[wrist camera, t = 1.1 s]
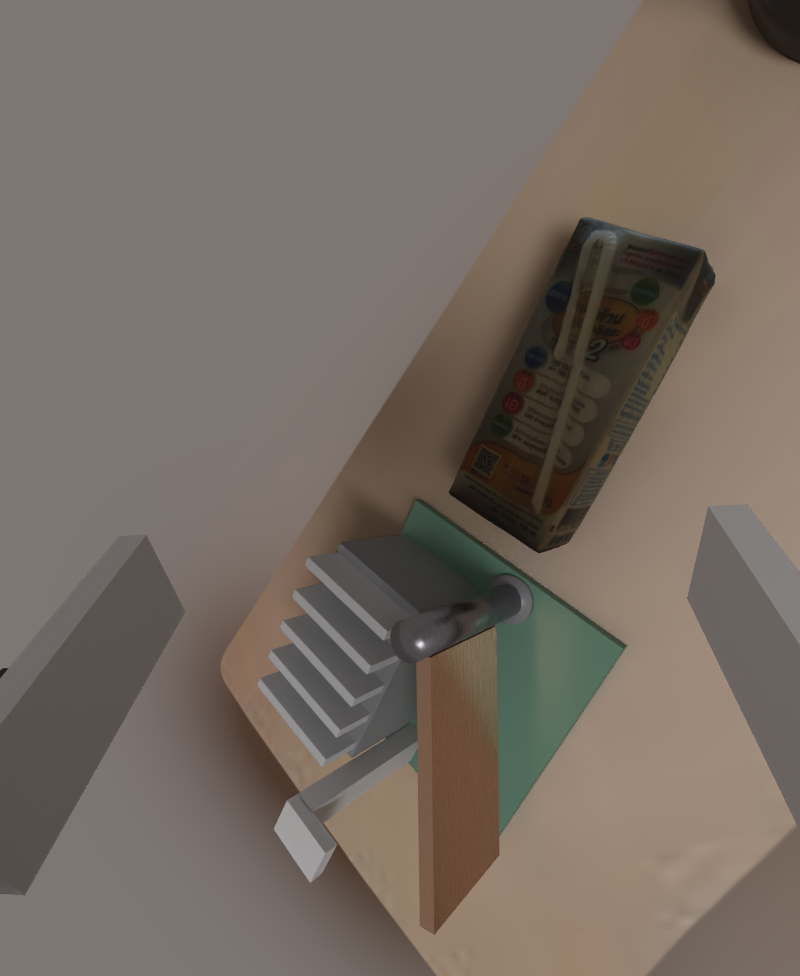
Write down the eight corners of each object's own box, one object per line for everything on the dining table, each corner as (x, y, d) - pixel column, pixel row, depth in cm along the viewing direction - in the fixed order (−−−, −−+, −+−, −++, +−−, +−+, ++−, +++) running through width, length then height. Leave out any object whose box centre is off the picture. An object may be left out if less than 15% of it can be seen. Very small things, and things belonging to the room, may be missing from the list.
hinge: (491, 582, 39) (389, 616, 30) (521, 586, 38) (424, 622, 28) (494, 826, 39) (394, 937, 30) (524, 839, 38) (429, 960, 28)
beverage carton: (728, 280, 31) (712, 241, 26) (572, 550, 37) (534, 563, 32) (607, 246, 35) (572, 206, 30) (484, 494, 41) (437, 497, 36)
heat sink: (421, 499, 45) (290, 507, 33) (626, 645, 35) (539, 727, 24) (339, 677, 51) (205, 735, 40) (493, 844, 41) (374, 984, 30)
